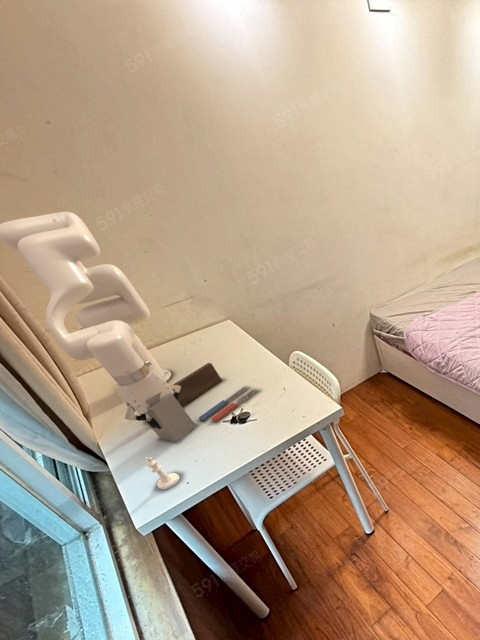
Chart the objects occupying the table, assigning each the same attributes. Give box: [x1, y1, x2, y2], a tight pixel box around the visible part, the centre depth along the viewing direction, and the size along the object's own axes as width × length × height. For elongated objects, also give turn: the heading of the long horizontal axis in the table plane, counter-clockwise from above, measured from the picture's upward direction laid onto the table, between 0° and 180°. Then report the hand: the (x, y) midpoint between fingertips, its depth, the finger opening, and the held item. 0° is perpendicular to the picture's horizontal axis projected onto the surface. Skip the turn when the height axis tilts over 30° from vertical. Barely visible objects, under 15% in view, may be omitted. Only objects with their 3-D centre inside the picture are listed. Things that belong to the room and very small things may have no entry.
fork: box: [210, 389, 259, 423], centre depth 130 cm, size 3×16×1 cm, turn 159°
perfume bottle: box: [137, 392, 197, 442], centre depth 116 cm, size 7×7×18 cm
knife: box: [198, 387, 249, 422], centre depth 131 cm, size 2×17×1 cm, turn 159°
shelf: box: [172, 362, 223, 409], centre depth 131 cm, size 5×24×8 cm, turn 159°
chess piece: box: [144, 456, 180, 490], centre depth 103 cm, size 5×5×10 cm
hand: (168, 419), depth 118 cm, fingers closed on perfume bottle, 6 cm apart
